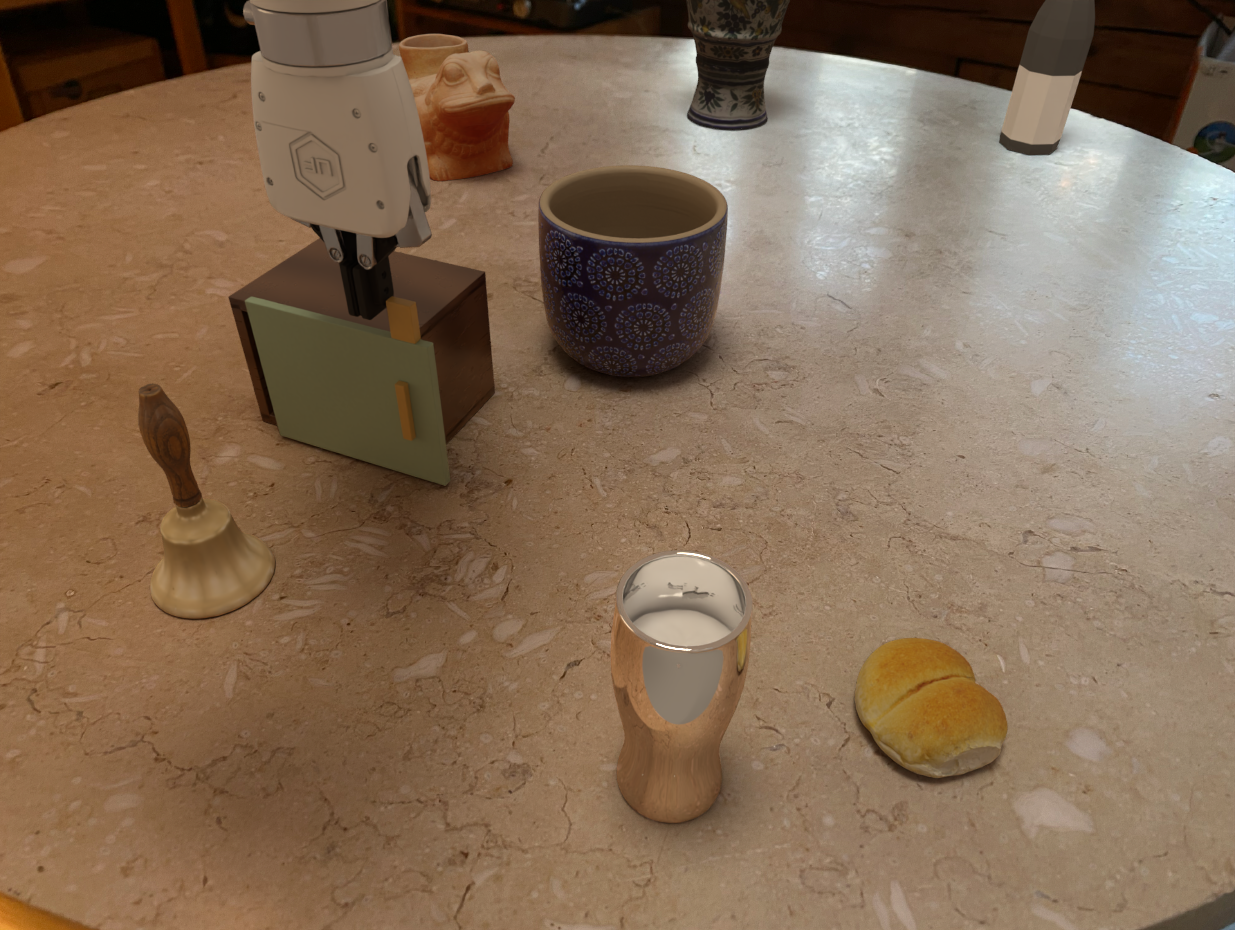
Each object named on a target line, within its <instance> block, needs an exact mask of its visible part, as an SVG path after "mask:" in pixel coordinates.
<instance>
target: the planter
mask: <svg viewBox="0 0 1235 930" xmlns="http://www.w3.org/2000/svg"><path fill="white" fill-rule="evenodd" d="M537 210H538V211H537V213H538V215H537V217H538V218H537V221H538V223H537V226H538V254H539V268H540V269H539V270H540V283H541V293H542V301H543V307H544V308H543V309H544V313H545V318H546V322H547V325H548V328H549V332H550V333H551V335H552V336H553V338H554V340H555V341H556V342H557V344H558V345H559V347H560V348H561V350H563V351H564V353H566V354H567V355H568V356H569V357H570V358H572V359H573V360H574V361H575V362H577V363H578V364H579V365H581V366H583V367H585V368H587V369H590V370H592V371H595V372H598V373H600V374H605V375H608V376H614V377H621V378H641V377H650V376H654V375H658V374H661V373H665V372H668V371H671V370H673V369H675V368H677V367H679V366H680V365H682V364H684V363H685V362H686V361H688V360H689V359H691V358H692V357H693V356H694V355H695V354H696V353H697V352H698V351H699V350H700V349H701V348H702V347H703V345H704V344H705V342H706V341H707V339H708V338H709V336H710V334H711V331H712V328H713V326H714V323H715V320H716V315H717V310H718V305H719V300H720V296H721V289H722V283H723V282H722V281H723V272H724V266H725V265H724V264H725V256H726V246H727V245H726V244H727V234H728V217H729V215H728V214H729V206H728V201H727V199H726V197H725V196H724V194H723V193H722V192H721V191H720V190H719V189H718V188H717V187H716V186H714V185H713V184H712V183H710V182H708V181H706V180H704V179H702V178H700V177H698V176H695V175H692V174H689V173H686V172H683V171H680V170H675V169H671V168H665V167H661V166H660V167H658V166H651V165H635V164H634V165H633V164H631V165H630V164H628V165H627V164H626V165H622V164H621V165H608V166H607V165H606V166H600V167H592V168H588V169H583V170H579V171H575V172H573V173H569V174H567V175H565V176H563V177H560V178H558V179H557V180H555V181H554V182H552V183H550V184H549V185H548V186H547V187H546V188H545V189H544V190H543V191H542V192H541V195H540V196H539V200H538V209H537Z"/></svg>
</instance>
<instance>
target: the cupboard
mask: <svg viewBox="0 0 1235 930" xmlns="http://www.w3.org/2000/svg"><path fill="white" fill-rule="evenodd" d="M388 257H389V263H390V270H391V276H392V283H393V289H394V297H397V298H402V299H406V300H410V301H414V302H416V307H417V314H418V321H419V329H420V336H421V340H425V341H428V342H432V343H433V346H434V354H435V362H436V369H437V377H438V385H439V393H440V401H441V409H442V417H443V425H444V433H445V441H446V445H447V444H448V443H449V442H450V441H451V440H452V439H453V438H454V437H455V436H456V435H457V434H458V433H459V432H460V430H462V429H463V427H464V426H465V425H466V424H467V423H468V422H469V421H470V420H471V419H473V417H474V416H475V415H476V414H477V412H478V411H479V410H480V409H481V408H482V407H483V406H484V405H485V404H486V403H487V402H488V401H489V400H490V399H491V398H492V396H494V394H495V393H496V389H495V387H496V386H495V376H494V363H493V352H492V341H491V340H492V339H491V327H490V315H489V303H488V301H489V300H488V290H487V277H486V271H484V270H480V269H476V268H470V267H467V266H461V265H458V264H453V263H449V262H444V261H440V260H435V259H431V258H427V257H422V256H418V255H412V254H409V253H404V252H400V251H396V250H395V251H394V252H393V253H391V254H390V255H389V256H388ZM227 297H228V300H229V305H230V308H231V312H232V316H233V319H234V322H235V326H236V329H237V334H238V337H239V341H240V345H241V348H242V351H243V355H244V358H245V362H246V366H247V369H248V373H249V377H250V380H251V383H252V387H253V392H254V395H255V398H256V402H257V405H258V409H259V412H260V416H261V419H262V422H264V423H268V424H270V425H274V426H277V427H278V425H277V421H276V417H275V413H274V410H273V406H272V402H271V398H270V395H269V391H268V387H267V383H266V380H265V376H264V372H263V368H262V364H261V361H260V357H259V353H258V349H257V346H256V342H255V338H254V334H253V330H252V327H251V323H250V319H249V315H248V312H247V308H246V304H245V300H246V299H248V298H250V297H256V298H260V299H264V300H268V301H272V302H276V303H280V304H283V305H287V306H291V307H295V308H299V309H303V310H307V311H311V312H315V313H319V314H323V315H327V316H331V317H334V318H338V319H342V320H346V321H350V322H354V323H358V324H362V325H366V326H370V327H374V328H378V329H381V330H385V331H389V332H390V325H389V319H388V313H387V308H385V309H384V310H383V311H382V312H380V313H379V314H378V315H377V316H375V317H374V318H373V319H372V320H367V319H363V318H362V316H359V317H355V316H351V315H349V312H348V307H347V302H346V296H345V292H344V287H343V282H342V276H341V271H340V266H339V263H337V262H334V261H333V260H332V259H331V258H330V257H329V255H328V252H327V249H326V246H325V243H324V242H323V241H322V239H321V238H320V237H318V238H317V239H316V240H314V241H313V242H310V243H309V244H308V245H307V246H305V247H304V248H302V249H300V250H299V251H297V252H296V253H294V254H292V255H291V256H289V257H288V258H286V259H284V260H283V261H281V262H279V263H278V264H277V265H275V266H274V267H272V268H271V269H269V270H268V271H266V272H264V273H263V274H261V275H260V276H257V278H255V279H253V280H252V281H251V282H249V283H247V284H246V285H244V286H242V287H240V289H238V290H236V291H235V292H233V293H231V294H230V295H229V296H227Z"/></svg>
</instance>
